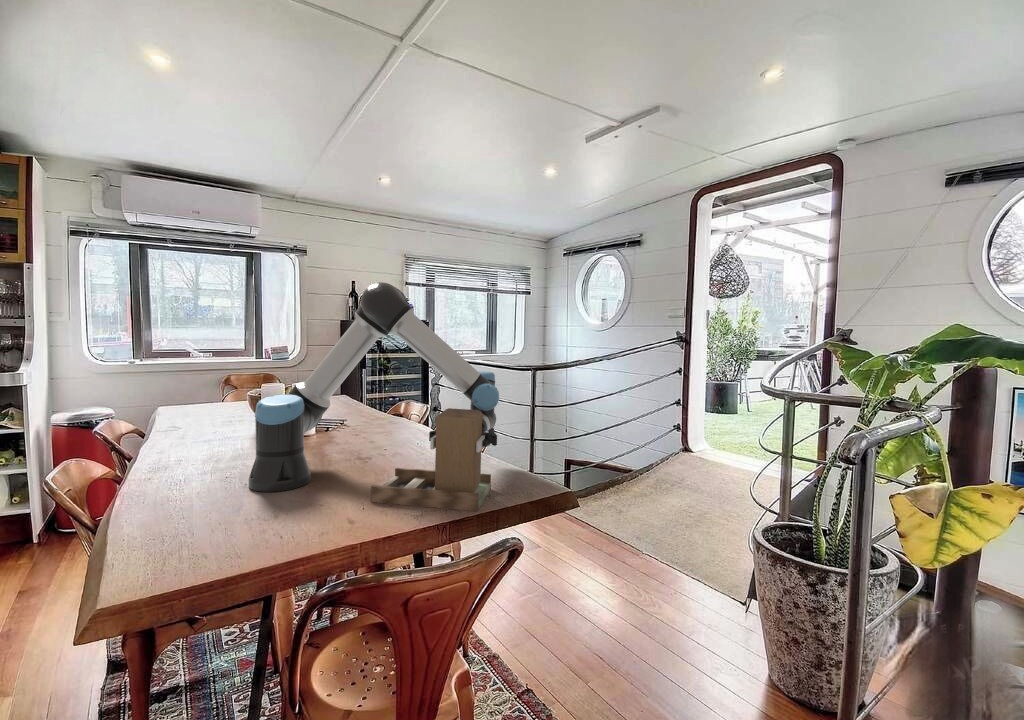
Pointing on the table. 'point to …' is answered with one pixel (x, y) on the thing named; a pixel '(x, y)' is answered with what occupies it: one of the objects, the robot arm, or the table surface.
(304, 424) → the robot arm
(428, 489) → the box
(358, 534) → the table surface
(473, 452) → the block
